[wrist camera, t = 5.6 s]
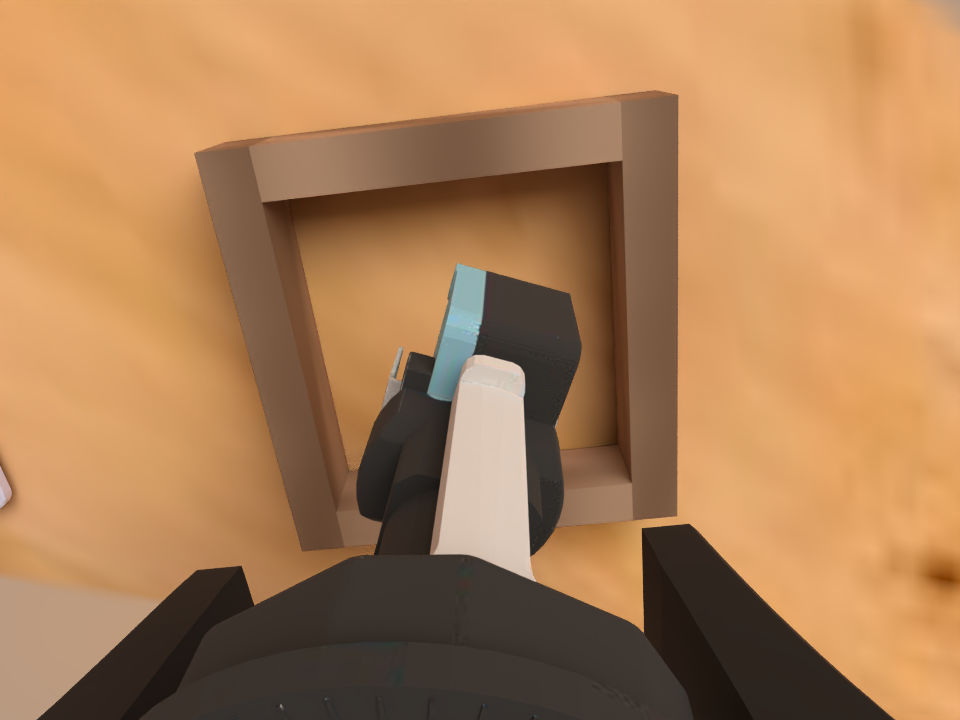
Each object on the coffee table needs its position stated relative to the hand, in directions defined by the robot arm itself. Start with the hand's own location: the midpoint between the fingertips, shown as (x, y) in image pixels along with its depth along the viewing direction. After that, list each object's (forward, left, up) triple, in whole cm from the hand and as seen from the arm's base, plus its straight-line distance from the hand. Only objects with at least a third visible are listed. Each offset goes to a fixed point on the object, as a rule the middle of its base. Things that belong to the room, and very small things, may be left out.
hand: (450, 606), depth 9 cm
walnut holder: (0, 0, -10) cm, 10 cm away
